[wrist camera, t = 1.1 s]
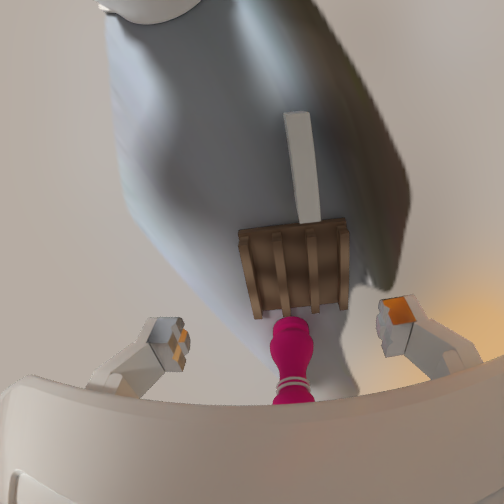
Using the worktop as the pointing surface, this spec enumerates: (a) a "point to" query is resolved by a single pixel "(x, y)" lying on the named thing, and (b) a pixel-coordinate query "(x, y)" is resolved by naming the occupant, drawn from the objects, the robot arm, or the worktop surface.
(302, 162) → the clay strip
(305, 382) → the pepper mill
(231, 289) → the worktop surface
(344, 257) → the walnut rack
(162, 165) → the worktop surface
